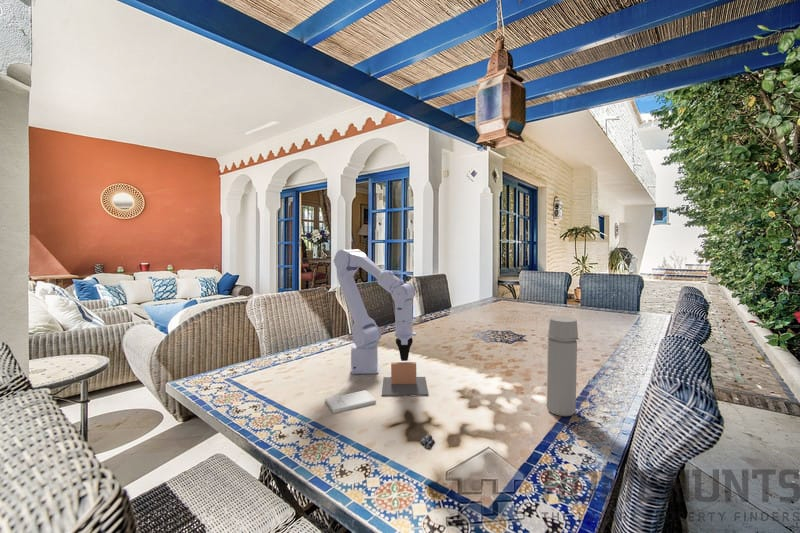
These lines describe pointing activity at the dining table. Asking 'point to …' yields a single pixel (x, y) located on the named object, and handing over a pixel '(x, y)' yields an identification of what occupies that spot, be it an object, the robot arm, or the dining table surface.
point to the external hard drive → (350, 401)
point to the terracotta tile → (403, 372)
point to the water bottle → (562, 366)
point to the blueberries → (427, 441)
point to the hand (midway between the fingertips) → (404, 360)
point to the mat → (404, 388)
